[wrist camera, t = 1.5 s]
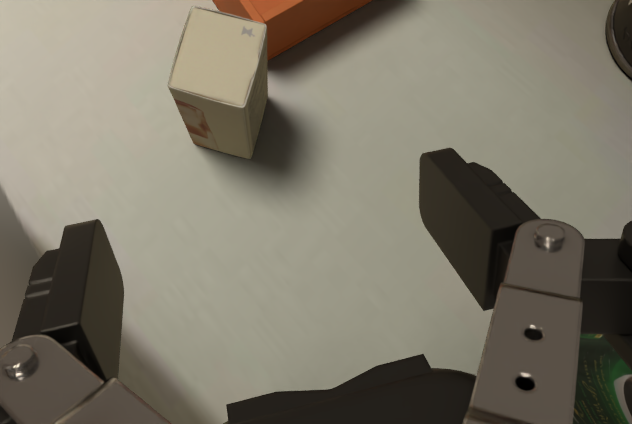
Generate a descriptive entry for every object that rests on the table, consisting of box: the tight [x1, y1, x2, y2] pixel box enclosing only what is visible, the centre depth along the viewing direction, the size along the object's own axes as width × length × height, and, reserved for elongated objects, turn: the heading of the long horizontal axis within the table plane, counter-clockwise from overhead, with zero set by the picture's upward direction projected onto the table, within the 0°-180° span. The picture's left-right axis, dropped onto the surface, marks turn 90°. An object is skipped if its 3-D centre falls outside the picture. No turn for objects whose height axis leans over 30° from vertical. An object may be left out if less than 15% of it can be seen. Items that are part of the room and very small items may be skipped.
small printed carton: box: [168, 6, 268, 159], centre depth 35 cm, size 5×4×10 cm
